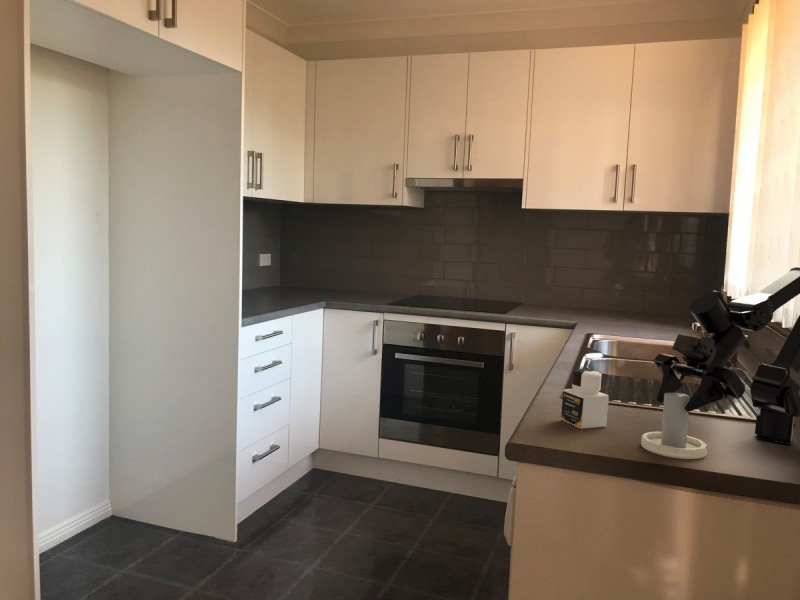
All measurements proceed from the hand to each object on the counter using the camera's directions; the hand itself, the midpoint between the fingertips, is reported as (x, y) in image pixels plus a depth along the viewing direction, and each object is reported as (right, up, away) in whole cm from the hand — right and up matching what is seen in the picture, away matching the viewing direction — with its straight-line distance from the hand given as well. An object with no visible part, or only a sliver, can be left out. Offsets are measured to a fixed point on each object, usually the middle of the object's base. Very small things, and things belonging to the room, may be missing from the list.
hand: (671, 405), depth 132 cm
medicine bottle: (-13, -7, +17) cm, 22 cm away
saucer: (+1, -9, +1) cm, 9 cm away
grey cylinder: (+1, -8, +1) cm, 8 cm away
